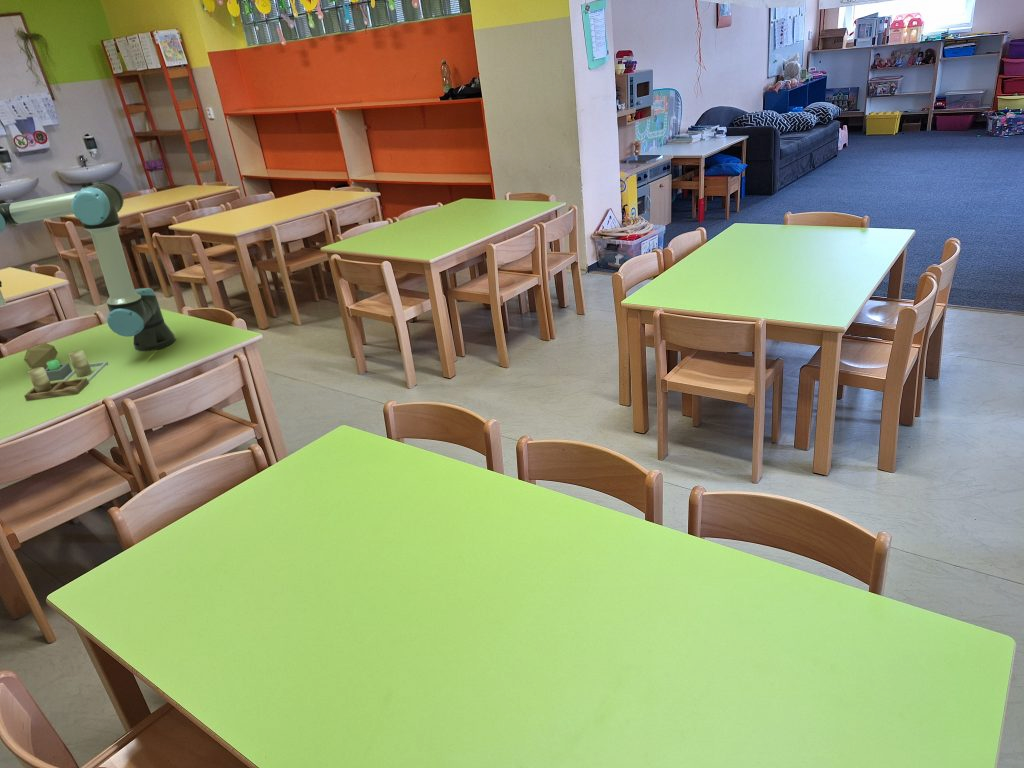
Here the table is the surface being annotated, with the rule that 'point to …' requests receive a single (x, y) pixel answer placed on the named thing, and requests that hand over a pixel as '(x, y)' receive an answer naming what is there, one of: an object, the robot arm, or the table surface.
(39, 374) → the billet
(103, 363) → the grey-green angled strip
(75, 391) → the wooden divided tray
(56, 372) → the console
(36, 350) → the low-poly potato
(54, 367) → the button
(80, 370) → the billet
